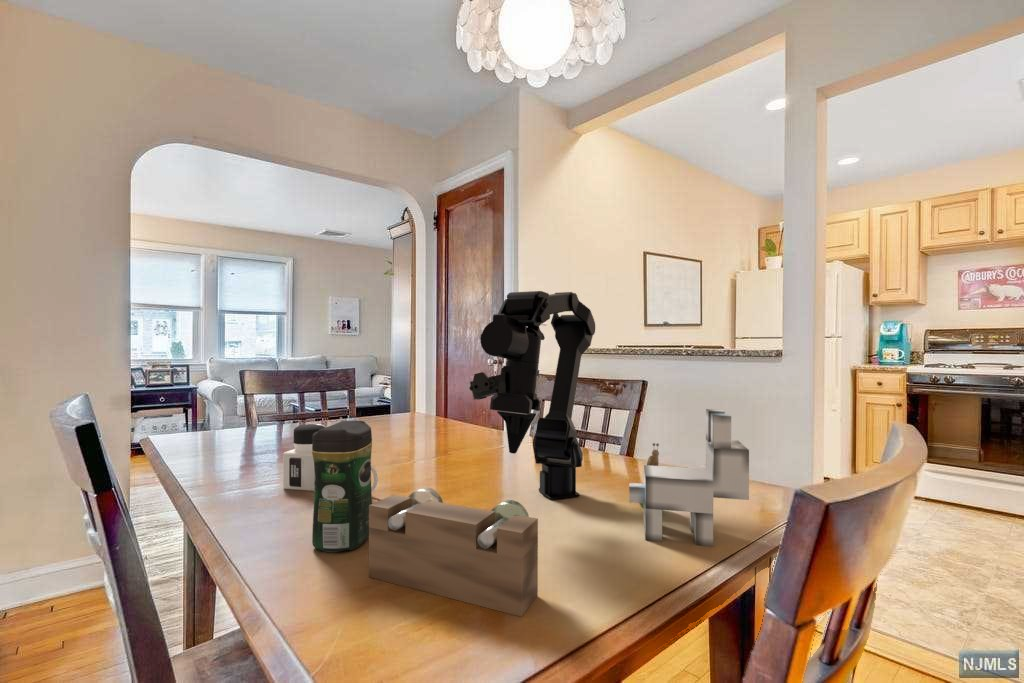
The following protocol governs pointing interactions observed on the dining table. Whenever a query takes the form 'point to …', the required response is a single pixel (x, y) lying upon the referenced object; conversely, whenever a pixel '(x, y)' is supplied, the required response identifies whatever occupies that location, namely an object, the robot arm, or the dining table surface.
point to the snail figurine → (652, 462)
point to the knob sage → (500, 521)
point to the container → (300, 459)
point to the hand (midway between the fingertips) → (512, 453)
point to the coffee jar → (341, 485)
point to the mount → (455, 553)
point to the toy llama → (696, 483)
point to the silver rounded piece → (414, 505)
